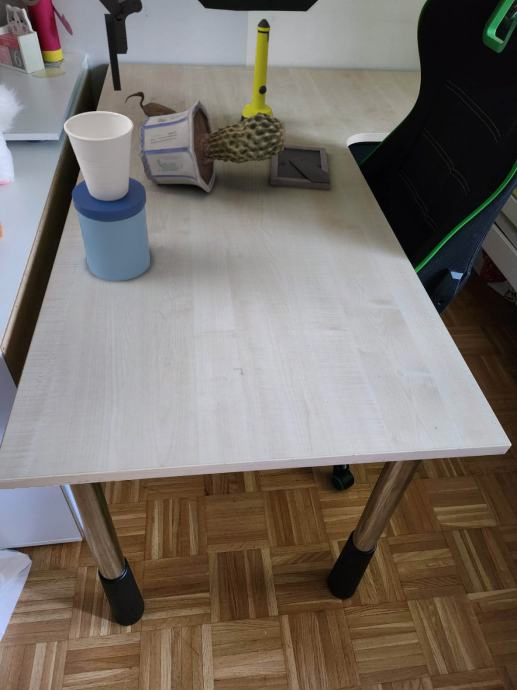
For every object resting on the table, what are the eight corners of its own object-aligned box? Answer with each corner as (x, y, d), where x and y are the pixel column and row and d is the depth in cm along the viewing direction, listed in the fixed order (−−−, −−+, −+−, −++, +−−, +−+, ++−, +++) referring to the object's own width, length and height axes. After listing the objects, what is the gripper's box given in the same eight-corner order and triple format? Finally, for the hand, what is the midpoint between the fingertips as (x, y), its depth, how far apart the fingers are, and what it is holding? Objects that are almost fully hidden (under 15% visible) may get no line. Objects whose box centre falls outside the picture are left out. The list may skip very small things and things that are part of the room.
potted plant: (122, 130, 99) (278, 106, 94) (144, 99, 112) (281, 76, 107) (150, 212, 110) (290, 195, 105) (167, 175, 123) (291, 158, 119)
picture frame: (328, 190, 117) (324, 154, 130) (330, 182, 116) (326, 146, 128) (270, 185, 117) (272, 149, 130) (271, 177, 116) (272, 141, 128)
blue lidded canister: (87, 285, 89) (72, 214, 79) (85, 246, 96) (71, 176, 86) (155, 278, 91) (149, 208, 81) (148, 241, 99) (141, 172, 89)
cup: (112, 215, 79) (101, 146, 71) (63, 195, 82) (48, 126, 74) (152, 189, 85) (147, 122, 77) (106, 171, 88) (96, 105, 80)
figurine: (127, 130, 131) (123, 94, 125) (128, 122, 134) (124, 87, 128) (182, 132, 133) (181, 97, 127) (182, 124, 136) (181, 90, 130)
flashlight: (238, 14, 122) (256, 25, 117) (271, 12, 125) (290, 23, 120) (234, 120, 140) (249, 134, 135) (263, 116, 143) (279, 129, 138)
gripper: (150, -190, 45) (164, 73, 60) (-183, -223, 39) (-74, 76, 54) (161, -188, 40) (173, 98, 55) (-218, -225, 34) (-88, 104, 49)
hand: (51, 87), depth 55 cm, fingers open, 13 cm apart
